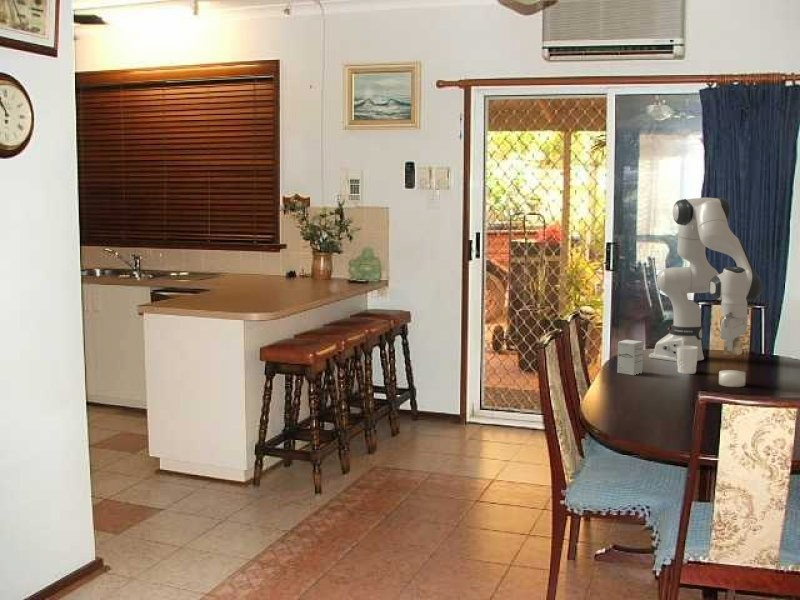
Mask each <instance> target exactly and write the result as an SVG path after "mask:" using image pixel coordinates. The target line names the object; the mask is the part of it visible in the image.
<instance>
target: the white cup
mask: <svg viewBox="0 0 800 600" xmlns="http://www.w3.org/2000/svg"><path fill="white" fill-rule="evenodd" d="M697 354H698V347H695V346H677V361H676V365H677V373H679V374H684V375H690V374H691V375H693V374H696V372H697V367H698V366H697V363H698V361H697Z"/></svg>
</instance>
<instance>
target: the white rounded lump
mask: <svg viewBox="0 0 800 600" xmlns="http://www.w3.org/2000/svg"><path fill="white" fill-rule="evenodd" d="M718 384H719V385H720V386H724V387H728V388H729V387H731V388H740V387H744V386H746V372H745V371H741V370H736V369H735V370H733V369H730V370H729V369H726V370H719V372H718Z"/></svg>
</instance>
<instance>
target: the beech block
mask: <svg viewBox="0 0 800 600" xmlns="http://www.w3.org/2000/svg"><path fill="white" fill-rule="evenodd" d="M733 346H734V348H733V350H732V351H728V350H727V343H726V340H723V355H730V356H740V355H742V354H743V339H740V340H738V339H733Z"/></svg>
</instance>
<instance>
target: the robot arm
mask: <svg viewBox="0 0 800 600" xmlns="http://www.w3.org/2000/svg"><path fill="white" fill-rule="evenodd" d="M730 215H731V206H730V202H728V200H727V199H725V198H723V197H696V198H683V199H682V198H681V199H679V200H677V201H676V202H675V203H674V205H673V209H672V217H673V220H674V222H675V223H676V224H677V225H679V227H678V234H677V245H676V253H677V255H678V256H679V257H680V258H681V259H683V260H685V261H687V262H689V266H682V267H681V266H680V267H679V266H678V267H677V266H676V267H674V266H672V267H667V268H663V269H661V270H660V271H659V272H658V274H657V275H656V284H657V285H656V286H657V288H658V289H659V291H661V292H662V293H663V294H665V295H666V296H667V298H668V299H669V301H670V303H671V306H672V311H673V313H672V314H673V324H671V325H670V326H668V327H667V331H668V334H666V335H665V336H664V337H662V338H660V339H659V340H658V341H657V342H656V343H655V346H654V351H653V352H651V353H649V354H648V358H651V359H656V360H657V359H658V360H664V361H671V362H677V346H695V347H698V354H697V362H699V361H703V360H704V359H705V357H704V353H703V348H702V347H703V346H702V338H703V327H702V309H701V307H700V305H699V304H698V303H696V302H694V301H692V300H690V299H689V297H688V294H705V293H709V294H710V296H712V298H713V299H715V300H717V301H718V300H719V301H721V302H720V316H721V317H723V318H722V319H721V323H720V332H719V334H720V339H721V340H723V341H724V340H726V343H727V350H728V351H732V350H733V348H734V346H733V339H738V340H741V336H742V335H744V334H746V332H747V328H748V316H749V314H750V308H748V302H749V301H751V302H754V301H755V300H756V299H758V298H759V297H760V295H761V294H762V292H763V283H762V280H761V278H760V276H759V275H758V274H757V271H756V270H755V267H754V266H753V263H752V261H751V259H750V256H749V253H748V252H747V249H746V247H745V245H744V243H743V241H742V240H741V238H739V237H737V236H736V235H735V234H734V233H733V231H732V230H731V229H730V227H729V222H728V220H729V218H730ZM706 248H707V249H709V250H711V251H713V252H714V251H715V252H718V253H722V254H724V255H727V256H728V257H730V258H732V259H733V260H734V261H735V264H736V266H733V265H732V266H731V265H730V266H726V267H725V268H723V271H722V272H721V273H719V271H718V270H716V268H714V267H713V266H712V265H711V264H710V263H709V260H708V259H707V255H706Z"/></svg>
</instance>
